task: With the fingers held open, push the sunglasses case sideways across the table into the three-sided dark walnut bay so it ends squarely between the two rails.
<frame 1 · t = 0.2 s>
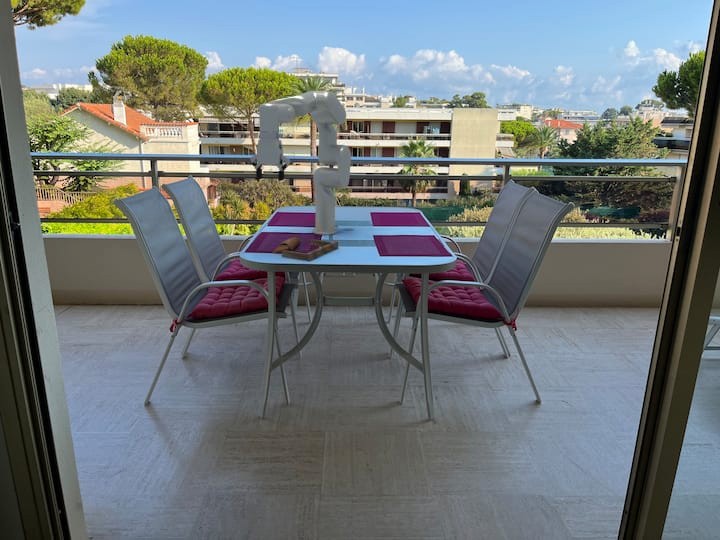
hand: (270, 179, 215), 30 cm above the table, tool pointing down, fingers open, 9 cm apart
walnut bay: (310, 252, 224), on the table
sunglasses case: (286, 250, 229), on the table
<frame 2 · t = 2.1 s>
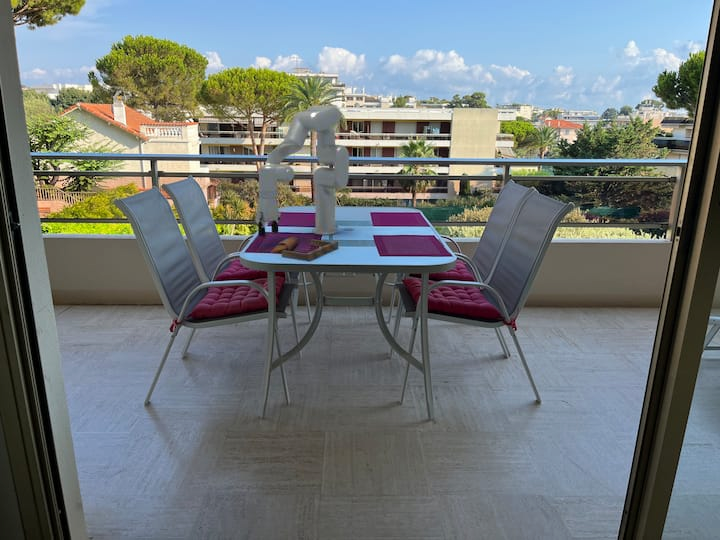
hand: (268, 234, 231), 5 cm above the table, tool pointing down, fingers open, 9 cm apart
nothing on the table moved.
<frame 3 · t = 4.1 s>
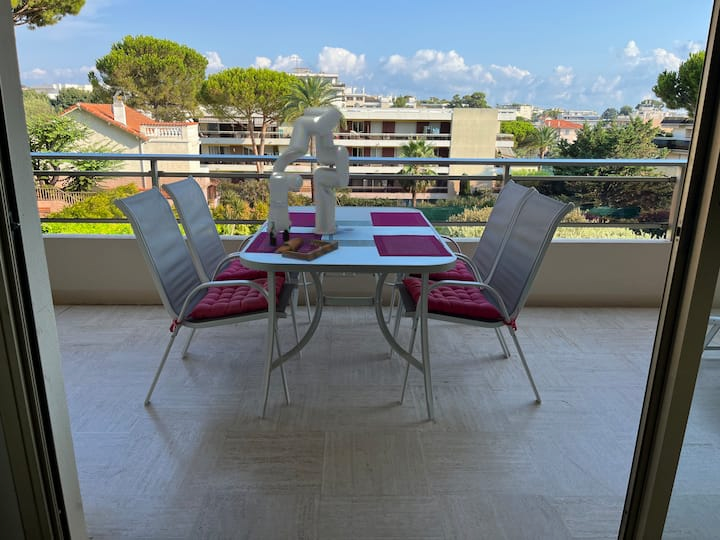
hand: (279, 243, 230), 2 cm above the table, tool pointing down, fingers open, 9 cm apart
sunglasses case: (289, 250, 229), on the table, touching gripper
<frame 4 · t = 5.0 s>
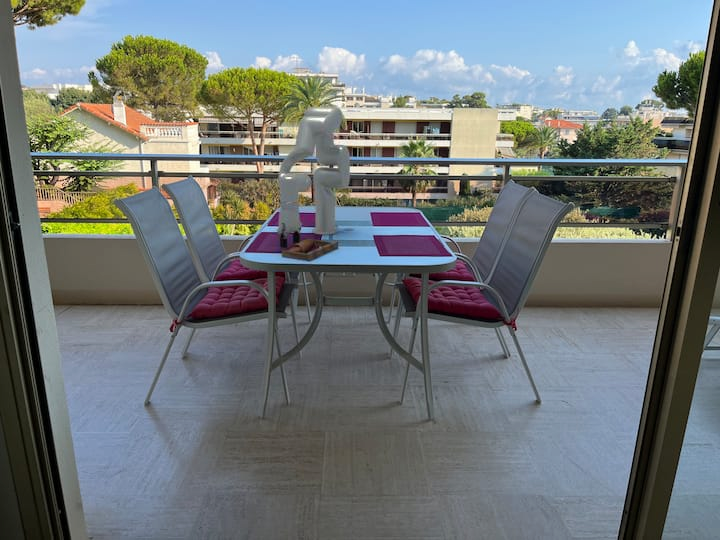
hand: (290, 245, 228), 2 cm above the table, tool pointing down, fingers open, 9 cm apart
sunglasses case: (300, 252, 227), on the table, touching gripper
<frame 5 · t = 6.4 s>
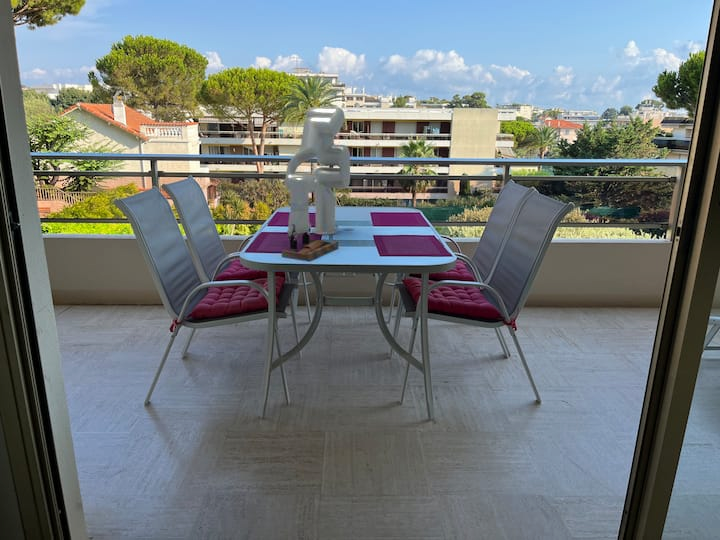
hand: (299, 246, 226), 2 cm above the table, tool pointing down, fingers open, 9 cm apart
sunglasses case: (310, 253, 226), on the table
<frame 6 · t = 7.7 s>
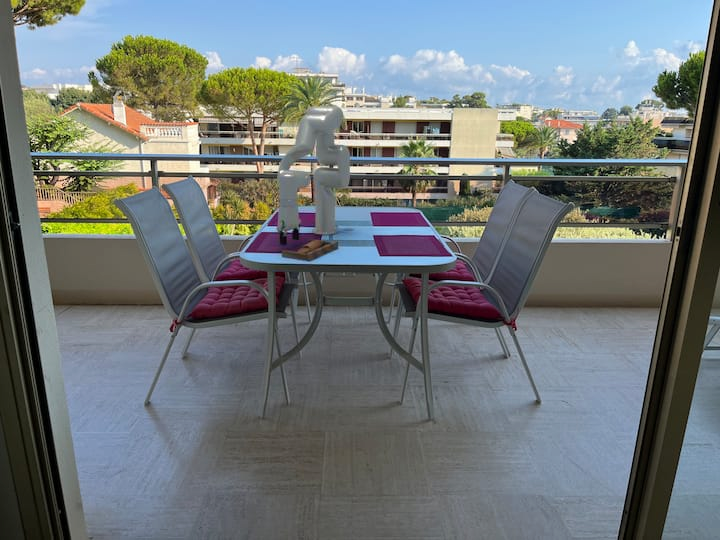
hand: (289, 242, 228), 3 cm above the table, tool pointing down, fingers open, 9 cm apart
nothing on the table moved.
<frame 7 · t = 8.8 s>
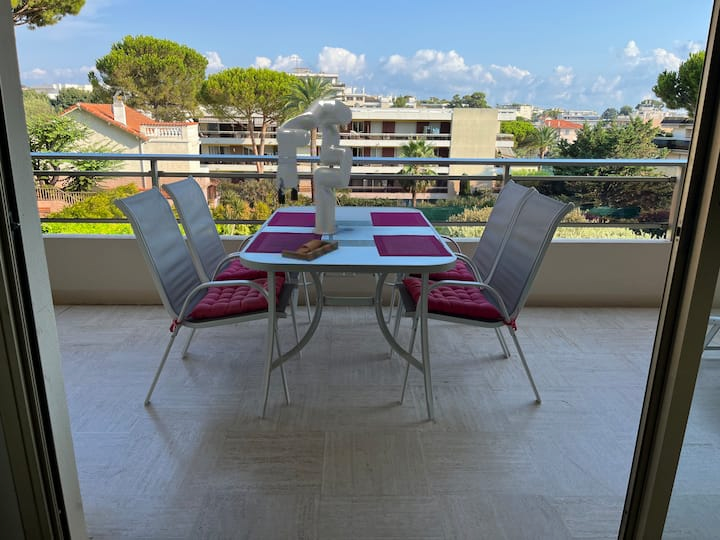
hand: (288, 202, 223), 20 cm above the table, tool pointing down, fingers open, 9 cm apart
nothing on the table moved.
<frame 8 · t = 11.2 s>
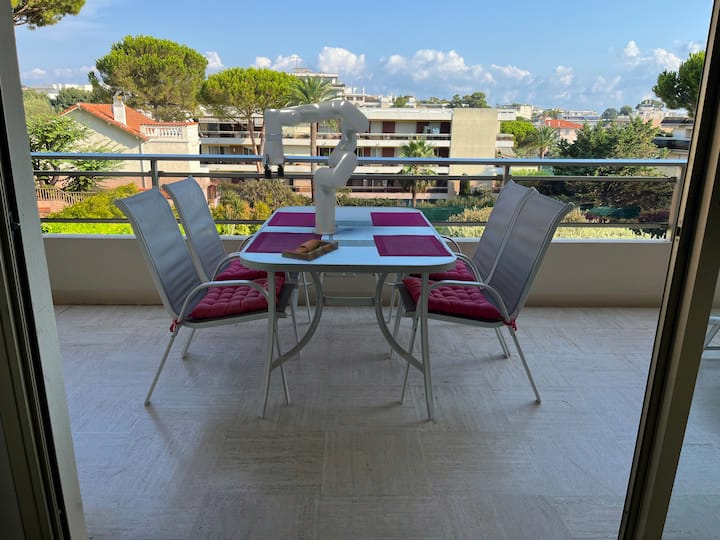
hand: (274, 177, 237), 28 cm above the table, tool pointing down, fingers open, 9 cm apart
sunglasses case: (305, 252, 226), on the table
at the end: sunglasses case inside the target area (3.1 cm from its centre), on the table; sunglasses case moved 9.0 cm from its start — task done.
